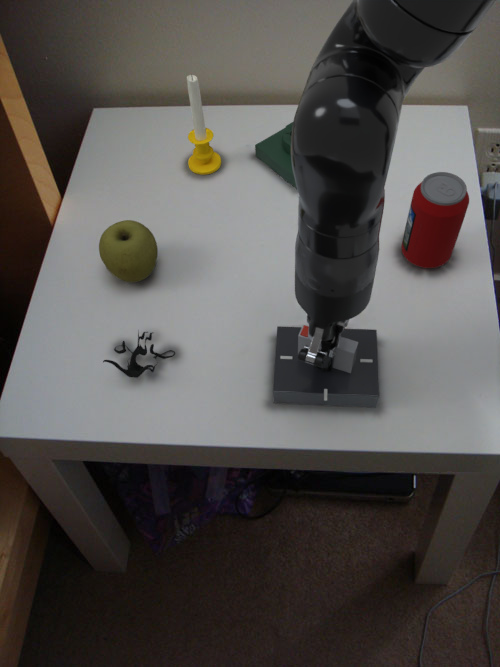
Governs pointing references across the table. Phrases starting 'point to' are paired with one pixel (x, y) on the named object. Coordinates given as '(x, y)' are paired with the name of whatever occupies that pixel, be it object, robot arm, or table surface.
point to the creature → (134, 367)
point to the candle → (200, 134)
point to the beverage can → (435, 219)
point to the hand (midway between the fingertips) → (326, 358)
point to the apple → (128, 250)
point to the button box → (278, 153)
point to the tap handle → (344, 352)
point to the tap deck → (326, 373)
